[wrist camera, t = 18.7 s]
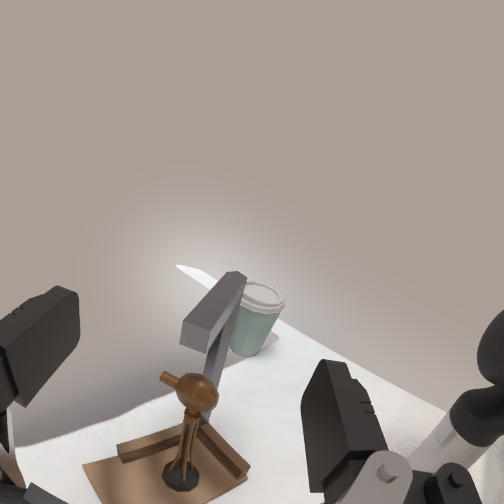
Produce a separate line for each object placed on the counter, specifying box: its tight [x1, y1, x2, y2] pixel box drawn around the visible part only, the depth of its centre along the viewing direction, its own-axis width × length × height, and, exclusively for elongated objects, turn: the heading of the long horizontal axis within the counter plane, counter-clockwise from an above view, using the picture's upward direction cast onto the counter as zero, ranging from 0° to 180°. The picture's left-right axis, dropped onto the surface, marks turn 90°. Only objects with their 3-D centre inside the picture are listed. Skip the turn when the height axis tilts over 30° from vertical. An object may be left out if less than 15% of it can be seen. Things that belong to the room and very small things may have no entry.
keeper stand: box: [82, 271, 251, 504], centre depth 23 cm, size 19×11×27 cm, turn 133°
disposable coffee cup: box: [229, 280, 285, 357], centre depth 59 cm, size 11×11×15 cm
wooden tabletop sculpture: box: [160, 371, 219, 492], centre depth 25 cm, size 6×5×20 cm
